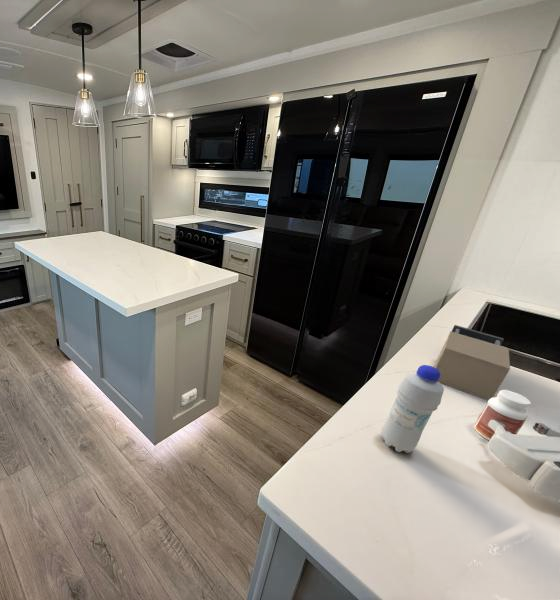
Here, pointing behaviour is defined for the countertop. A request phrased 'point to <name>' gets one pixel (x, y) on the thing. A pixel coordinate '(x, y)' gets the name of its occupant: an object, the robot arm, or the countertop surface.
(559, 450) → the robot arm
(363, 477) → the countertop surface
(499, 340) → the detergent drawer
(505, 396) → the pill bottle
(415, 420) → the bottle
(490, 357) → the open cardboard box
